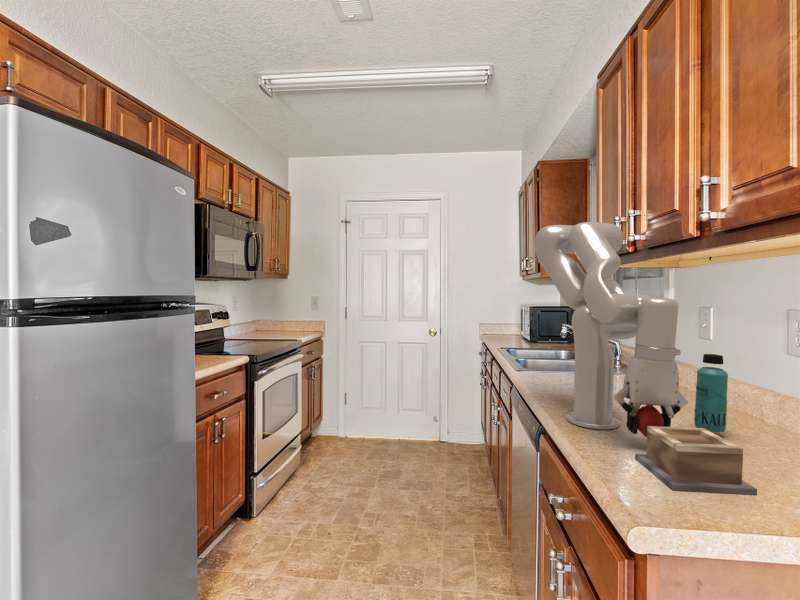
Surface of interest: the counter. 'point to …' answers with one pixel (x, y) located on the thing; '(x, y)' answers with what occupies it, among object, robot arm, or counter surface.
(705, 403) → the beverage bottle
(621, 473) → the counter surface
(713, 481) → the open square box
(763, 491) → the counter surface
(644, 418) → the pomegranate
